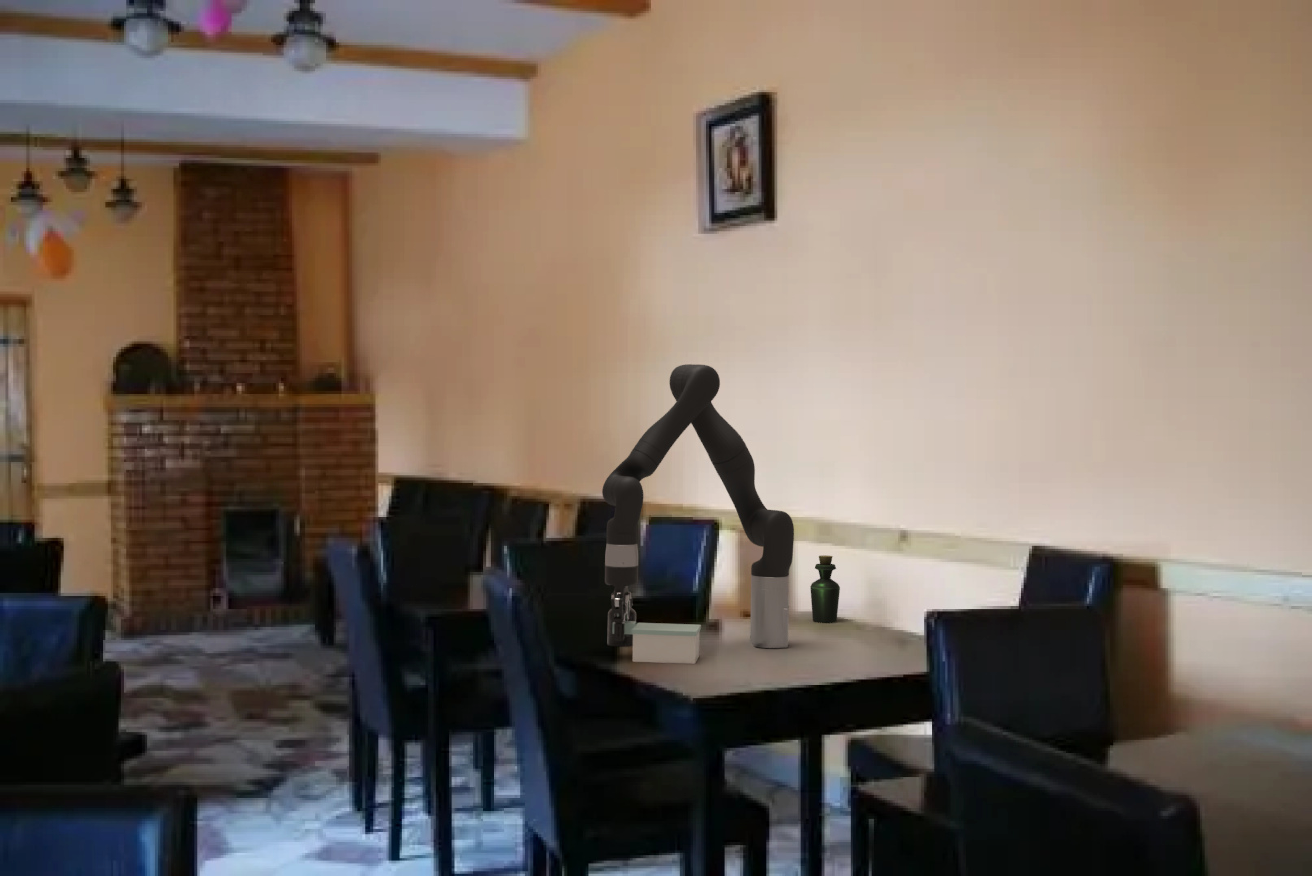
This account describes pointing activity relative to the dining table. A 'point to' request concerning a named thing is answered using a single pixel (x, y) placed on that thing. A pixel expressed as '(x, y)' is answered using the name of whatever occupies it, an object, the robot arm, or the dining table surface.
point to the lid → (660, 629)
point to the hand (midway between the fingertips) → (620, 638)
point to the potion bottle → (825, 592)
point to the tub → (665, 648)
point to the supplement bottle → (629, 639)
